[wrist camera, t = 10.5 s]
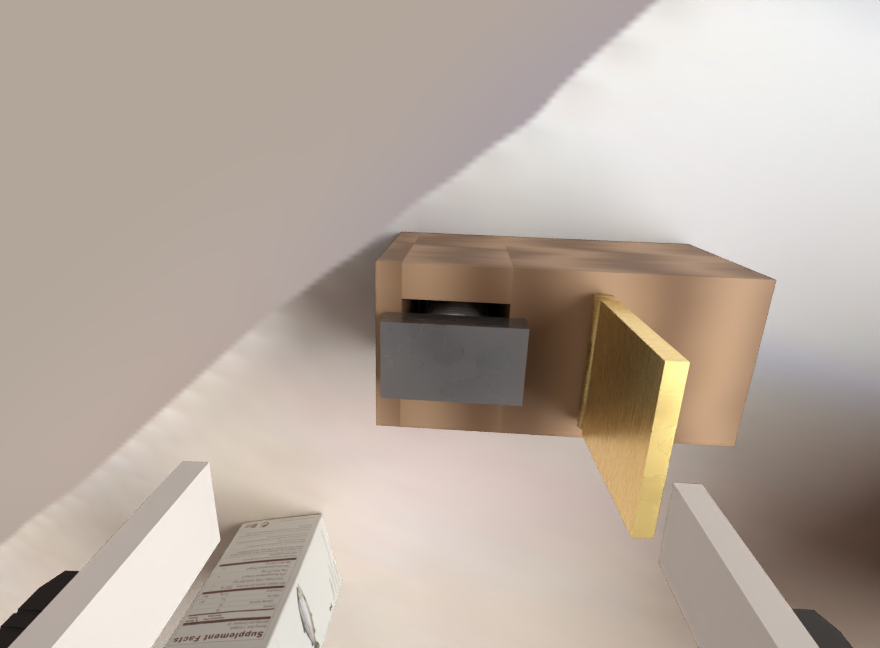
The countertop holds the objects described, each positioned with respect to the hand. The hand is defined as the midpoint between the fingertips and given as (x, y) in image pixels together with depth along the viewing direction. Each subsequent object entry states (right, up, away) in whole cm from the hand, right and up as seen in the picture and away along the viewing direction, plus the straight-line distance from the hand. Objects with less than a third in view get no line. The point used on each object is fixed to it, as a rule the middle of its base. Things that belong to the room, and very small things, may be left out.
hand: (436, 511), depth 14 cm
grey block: (+1, +7, +20) cm, 22 cm away
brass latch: (+8, +3, +11) cm, 14 cm away
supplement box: (-12, -14, +29) cm, 34 cm away
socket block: (+7, +7, +21) cm, 23 cm away
